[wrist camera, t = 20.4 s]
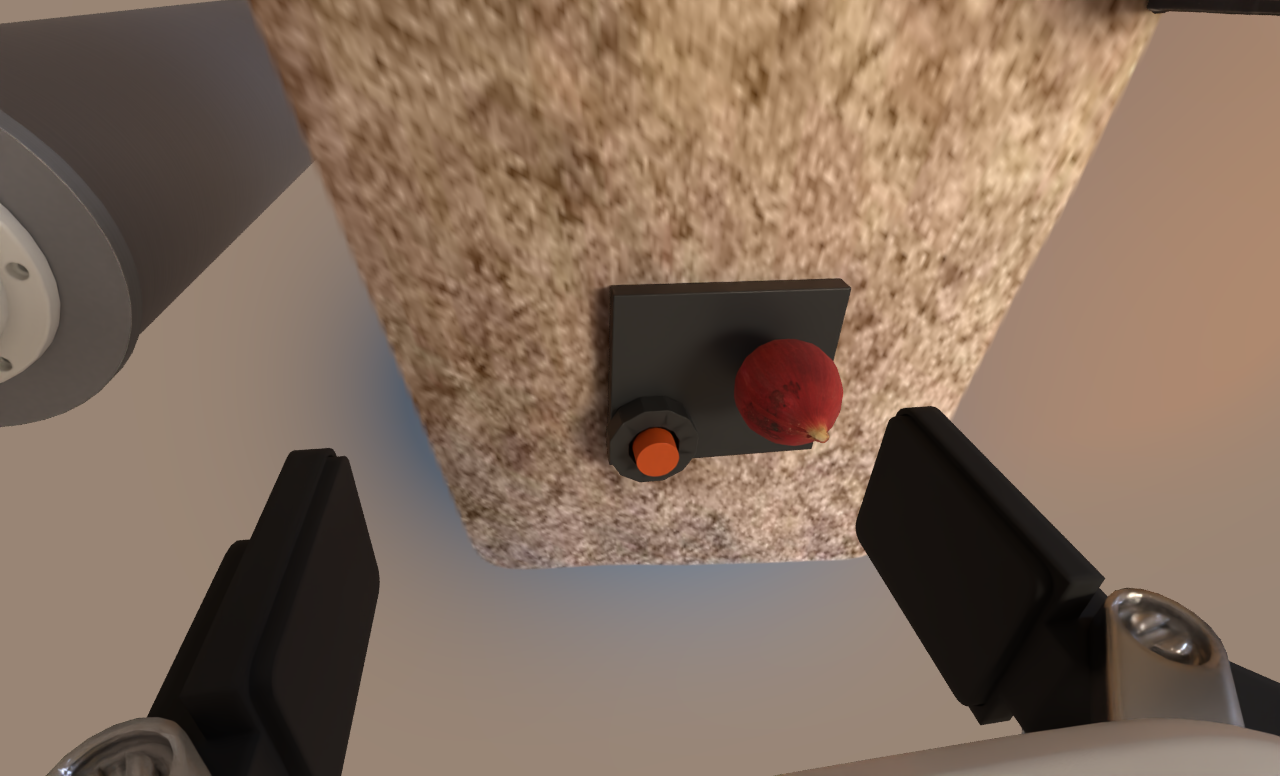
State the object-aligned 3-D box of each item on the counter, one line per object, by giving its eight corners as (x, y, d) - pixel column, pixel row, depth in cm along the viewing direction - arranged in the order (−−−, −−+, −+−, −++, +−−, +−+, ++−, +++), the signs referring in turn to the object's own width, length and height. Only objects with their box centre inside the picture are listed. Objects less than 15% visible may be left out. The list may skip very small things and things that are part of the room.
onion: (718, 403, 39) (760, 489, 33) (719, 322, 36) (766, 400, 30) (806, 390, 40) (864, 472, 34) (815, 309, 37) (882, 382, 30)
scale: (602, 455, 42) (608, 485, 39) (605, 285, 35) (612, 309, 33) (803, 439, 44) (820, 467, 42) (841, 278, 38) (865, 299, 35)
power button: (631, 462, 39) (635, 478, 38) (633, 428, 38) (637, 444, 37) (671, 458, 40) (677, 475, 38) (675, 425, 38) (680, 441, 37)
